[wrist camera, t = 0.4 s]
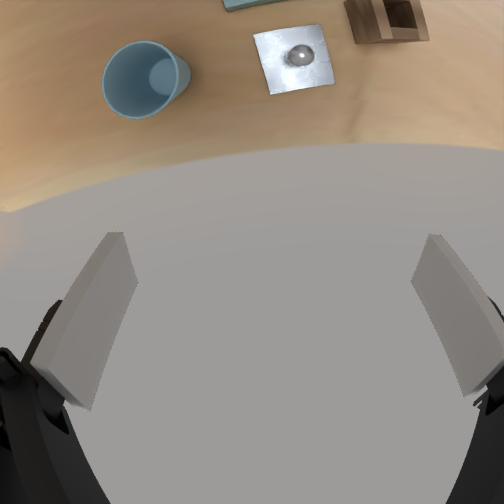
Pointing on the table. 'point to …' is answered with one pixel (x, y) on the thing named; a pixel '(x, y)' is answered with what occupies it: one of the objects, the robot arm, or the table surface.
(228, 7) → the tray
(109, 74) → the cup
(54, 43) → the table surface
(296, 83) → the knob mounting plate
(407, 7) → the bored block
